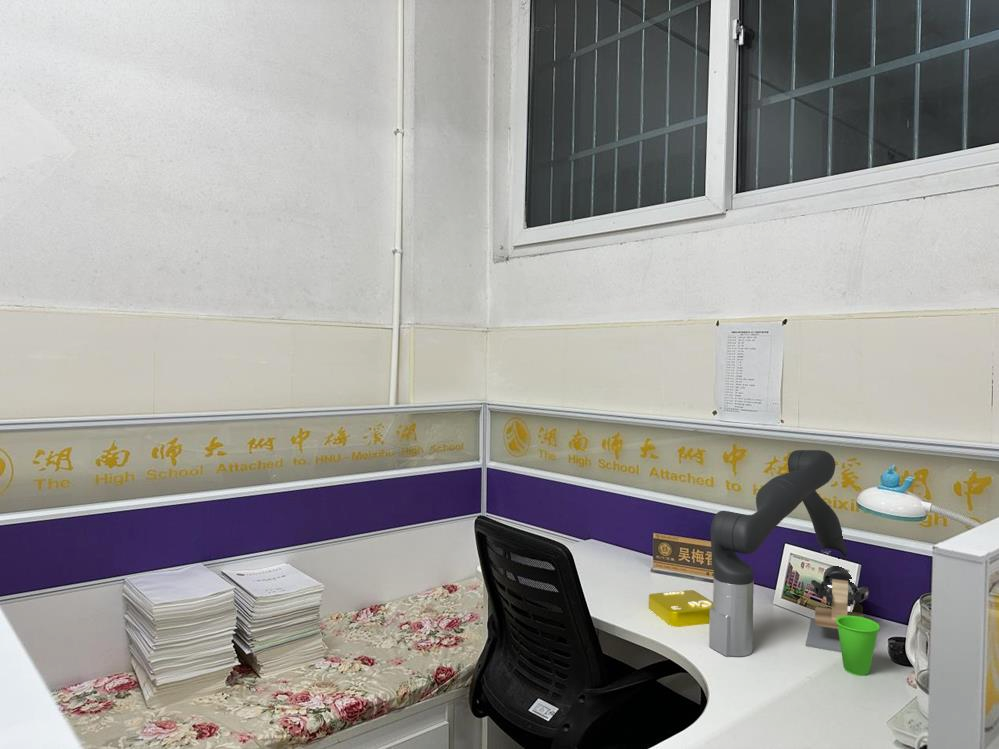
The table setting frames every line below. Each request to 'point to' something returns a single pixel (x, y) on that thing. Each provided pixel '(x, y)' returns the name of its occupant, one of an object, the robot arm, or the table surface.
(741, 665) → the table surface
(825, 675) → the table surface
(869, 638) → the cup
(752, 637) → the robot arm
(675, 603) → the element tile
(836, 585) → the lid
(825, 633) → the mat
